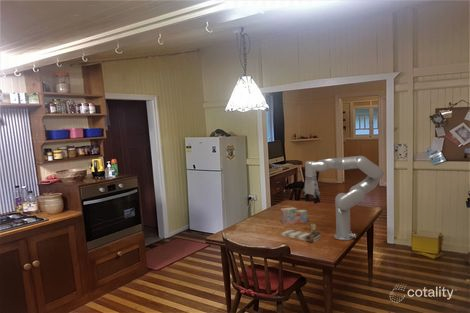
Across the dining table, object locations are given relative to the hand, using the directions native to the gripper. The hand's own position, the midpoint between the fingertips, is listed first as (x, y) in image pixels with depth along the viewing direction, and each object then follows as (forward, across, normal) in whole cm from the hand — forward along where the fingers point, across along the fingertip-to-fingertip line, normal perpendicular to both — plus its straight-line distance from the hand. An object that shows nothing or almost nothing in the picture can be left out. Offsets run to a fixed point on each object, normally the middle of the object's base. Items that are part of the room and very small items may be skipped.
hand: (311, 202), depth 236 cm
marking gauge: (+26, -5, +3) cm, 26 cm away
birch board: (+26, +4, +6) cm, 27 cm away
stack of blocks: (+26, +36, -12) cm, 46 cm away
